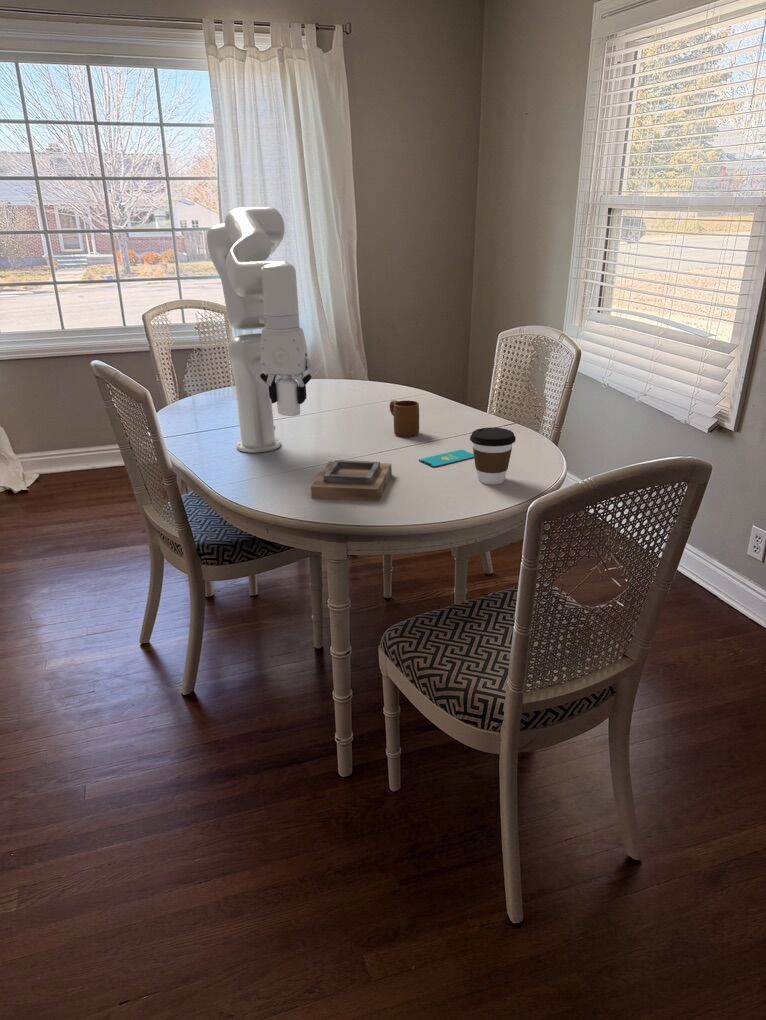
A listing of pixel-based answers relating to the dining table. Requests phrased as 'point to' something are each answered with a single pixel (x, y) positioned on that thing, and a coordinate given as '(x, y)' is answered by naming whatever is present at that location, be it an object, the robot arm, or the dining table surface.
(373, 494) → the display stand
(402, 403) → the mug
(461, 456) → the smartphone
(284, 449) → the dining table surface
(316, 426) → the dining table surface
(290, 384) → the eye dropper bottle
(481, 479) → the coffee cup
